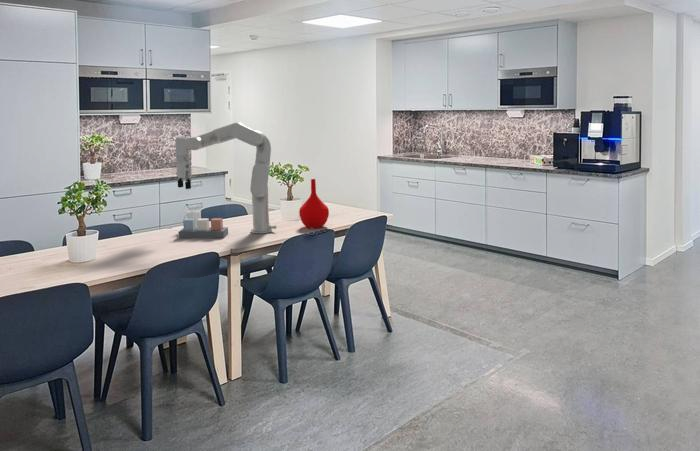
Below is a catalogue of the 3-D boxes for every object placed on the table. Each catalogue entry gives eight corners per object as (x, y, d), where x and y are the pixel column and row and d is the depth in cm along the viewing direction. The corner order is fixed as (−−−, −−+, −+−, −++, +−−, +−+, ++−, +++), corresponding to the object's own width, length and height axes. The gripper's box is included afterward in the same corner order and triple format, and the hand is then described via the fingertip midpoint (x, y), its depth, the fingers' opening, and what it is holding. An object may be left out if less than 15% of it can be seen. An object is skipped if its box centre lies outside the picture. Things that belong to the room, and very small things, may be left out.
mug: (187, 233, 365) (185, 213, 362) (180, 231, 371) (179, 212, 369) (204, 230, 372) (203, 211, 370) (197, 228, 379) (196, 209, 376)
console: (228, 233, 361) (227, 227, 361) (223, 238, 350) (223, 231, 349) (184, 234, 362) (184, 227, 361) (178, 238, 350) (178, 231, 349)
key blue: (196, 229, 358) (195, 218, 357) (193, 231, 352) (192, 220, 351) (186, 229, 358) (185, 218, 357) (183, 231, 352) (183, 220, 351)
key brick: (223, 229, 358) (222, 218, 356) (220, 230, 352) (220, 219, 351) (213, 229, 358) (212, 218, 356) (211, 231, 352) (210, 220, 351)
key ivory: (209, 229, 358) (208, 218, 356) (207, 231, 352) (206, 220, 351) (200, 229, 358) (199, 218, 357) (197, 231, 352) (196, 220, 351)
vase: (328, 229, 369) (327, 180, 364) (298, 229, 370) (296, 181, 364) (329, 224, 387) (328, 177, 382) (301, 224, 388) (299, 177, 382)
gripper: (195, 159, 350) (197, 188, 353) (182, 157, 363) (183, 186, 366) (183, 160, 345) (185, 190, 348) (170, 158, 358) (172, 187, 361)
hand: (184, 188), depth 357 cm, fingers open, 9 cm apart
